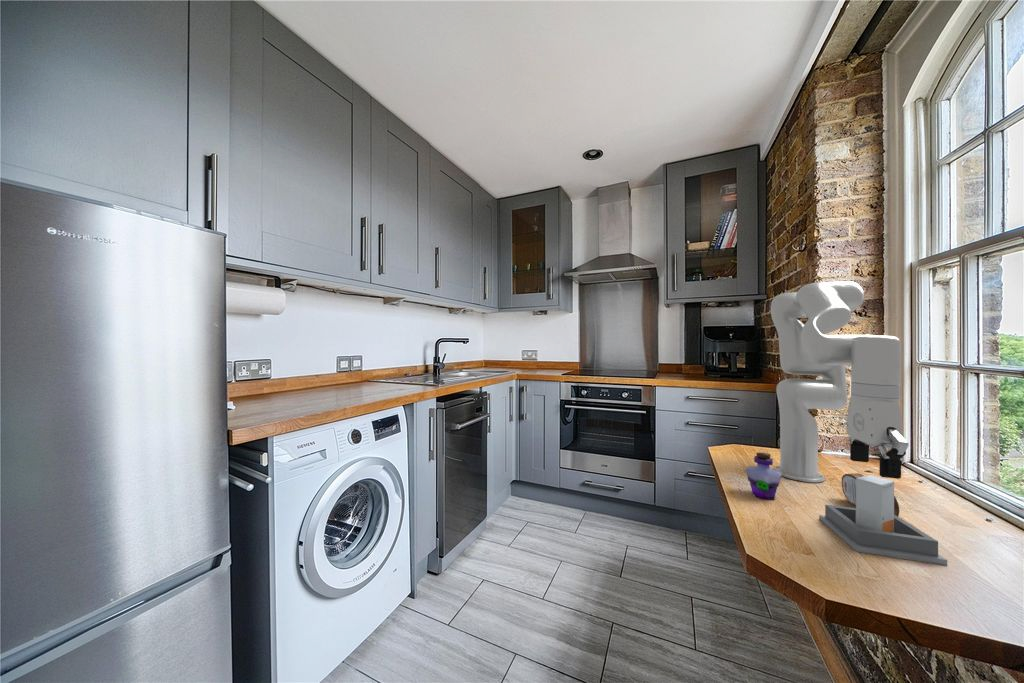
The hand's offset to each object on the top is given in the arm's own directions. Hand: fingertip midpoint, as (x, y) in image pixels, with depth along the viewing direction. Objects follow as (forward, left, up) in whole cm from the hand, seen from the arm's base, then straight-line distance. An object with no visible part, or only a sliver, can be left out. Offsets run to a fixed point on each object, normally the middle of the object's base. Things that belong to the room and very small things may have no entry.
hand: (873, 468), depth 76 cm
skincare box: (0, 0, -14) cm, 14 cm away
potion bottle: (-17, -15, -15) cm, 28 cm away
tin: (-15, +7, -16) cm, 23 cm away
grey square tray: (+1, 0, -15) cm, 15 cm away
